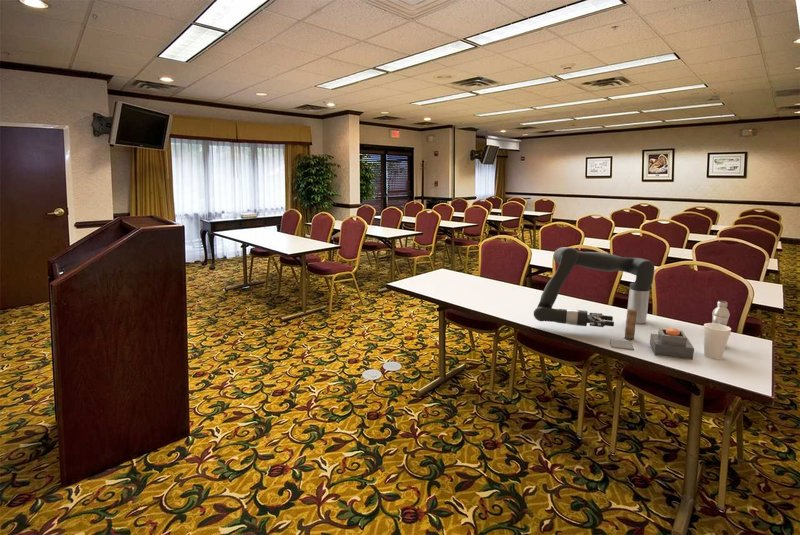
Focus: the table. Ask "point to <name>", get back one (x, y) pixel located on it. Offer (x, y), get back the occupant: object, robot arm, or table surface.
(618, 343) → the mat
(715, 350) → the foam cup
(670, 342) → the grey button housing
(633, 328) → the stick
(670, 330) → the breaker button
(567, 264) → the robot arm
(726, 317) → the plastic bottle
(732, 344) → the table surface
